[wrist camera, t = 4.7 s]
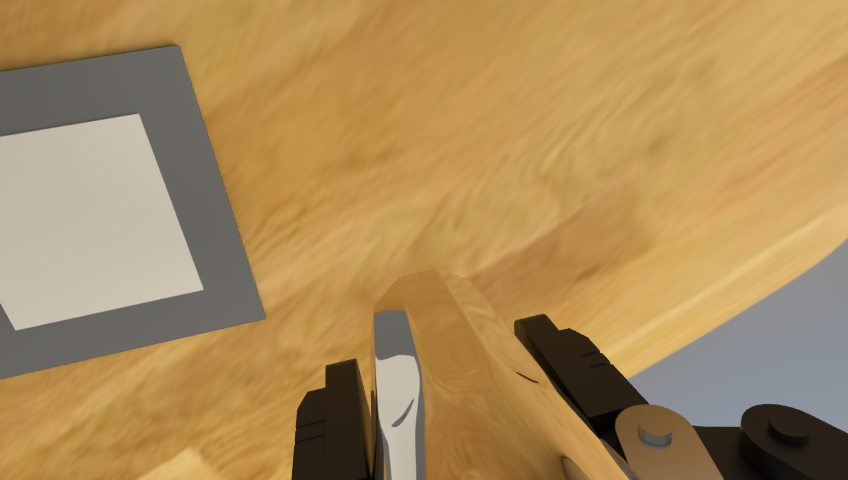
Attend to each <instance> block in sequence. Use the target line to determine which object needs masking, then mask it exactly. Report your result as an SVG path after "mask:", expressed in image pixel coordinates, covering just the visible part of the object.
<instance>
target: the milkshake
mask: <svg viewBox="0 0 848 480" xmlns="http://www.w3.org/2000/svg"><path fill="white" fill-rule="evenodd" d="M370 362H371V434H372V480H642V479H641V478H640V477H639V476H638V475H637V473H636V472H635V471H634V470H633V469H632V468H631V467H630V466H629V465H628V463H627V462H626V461H625V460H624V459H623V458H622V457H621V456H620V455H619V453H618V452H617V451H616V450H615V449H614V448H613V447H612V446H611V445H610V443H609V442H608V441H607V440H606V439H605V438H604V437H603V436H602V435H601V433H600V432H599V431H598V430H597V429H596V428H595V427H594V426H593V425H592V423H591V422H590V421H589V420H588V419H587V418H586V417H585V416H584V415H583V414H582V412H581V411H580V410H579V409H578V408H577V407H576V406H575V405H574V404H573V402H572V401H571V400H570V399H569V398H568V397H567V396H566V395H565V394H564V392H563V391H562V390H561V389H560V388H559V387H558V386H557V384H556V383H555V382H554V381H553V380H552V379H551V377H550V376H549V375H548V374H547V373H546V372H545V370H544V369H543V368H542V367H541V366H540V364H539V363H538V362H537V361H536V360H535V358H534V357H533V356H532V355H531V354H530V352H529V351H528V350H527V349H526V348H525V346H524V345H523V344H522V343H521V342H520V340H519V339H518V338H517V337H516V336H515V334H514V333H513V332H512V331H511V330H510V328H509V327H508V326H507V325H506V324H505V322H504V321H503V320H502V319H501V318H500V316H499V315H498V314H497V313H496V312H495V310H494V309H493V308H492V307H491V306H490V304H489V303H488V302H487V301H486V300H485V298H484V297H483V296H482V295H481V294H480V292H479V291H478V290H477V289H476V288H475V286H474V285H473V284H472V283H471V282H470V281H469V280H468V279H466V278H463V277H460V276H457V275H454V274H451V273H448V272H445V271H443V270H440V269H437V268H432V269H429V270H425V271H421V272H417V273H414V274H410V275H406V276H402V277H398V278H397V280H396V281H395V282H394V283H393V284H392V285H391V286H390V287H389V288H388V290H387V291H386V292H385V293H384V294H383V295H382V296H381V297H380V298H379V299H378V300H377V301H376V303H375V304H374V305H373V315H372V327H371V338H370Z"/></svg>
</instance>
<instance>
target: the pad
mask: <svg viewBox="0 0 848 480" xmlns="http://www.w3.org/2000/svg"><path fill="white" fill-rule="evenodd" d="M265 318H266V315H265V312H264V309H263V306H262V302H261V299H260V296H259V293H258V290H257V287H256V284H255V281H254V277H253V274H252V271H251V268H250V265H249V262H248V259H247V256H246V252H245V249H244V246H243V243H242V240H241V237H240V234H239V231H238V227H237V224H236V221H235V218H234V215H233V212H232V209H231V206H230V202H229V199H228V196H227V193H226V190H225V187H224V184H223V180H222V177H221V174H220V171H219V168H218V165H217V162H216V159H215V155H214V152H213V149H212V146H211V143H210V140H209V137H208V134H207V130H206V127H205V124H204V121H203V118H202V115H201V112H200V109H199V105H198V102H197V99H196V96H195V93H194V90H193V87H192V83H191V80H190V77H189V74H188V71H187V68H186V65H185V62H184V58H183V55H182V52H181V49H180V46H179V45H176V46H169V47H163V48H156V49H149V50H143V51H136V52H130V53H123V54H116V55H110V56H103V57H96V58H90V59H83V60H77V61H70V62H63V63H57V64H50V65H43V66H37V67H30V68H24V69H17V70H10V71H4V72H0V379H5V378H9V377H13V376H18V375H22V374H27V373H31V372H35V371H40V370H44V369H49V368H53V367H57V366H62V365H66V364H70V363H75V362H79V361H84V360H88V359H92V358H97V357H101V356H106V355H110V354H114V353H119V352H123V351H127V350H132V349H136V348H141V347H145V346H149V345H154V344H158V343H163V342H167V341H171V340H176V339H180V338H184V337H189V336H193V335H198V334H202V333H206V332H211V331H215V330H219V329H224V328H228V327H233V326H237V325H241V324H246V323H250V322H255V321H259V320H263V319H265Z"/></svg>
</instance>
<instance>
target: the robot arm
mask: <svg viewBox="0 0 848 480" xmlns="http://www.w3.org/2000/svg"><path fill="white" fill-rule="evenodd" d="M514 332H515V336H516V337H517V338H518V339H519V340H520V342H521V343H522V344H523V345H524V346H525V348H526V349H527V350H528V351H529V352H530V354H531V355H532V356H533V357H534V358H535V360H536V361H537V362H538V363H539V364H540V366H541V367H542V368H543V369H544V370H545V372H546V373H547V374H548V375H549V376H550V377H551V379H552V380H553V381H554V382H555V383H556V384H557V386H558V387H559V388H560V389H561V390H562V391H563V392H564V394H565V395H566V396H567V397H568V398H569V399H570V400H571V401H572V402H573V404H574V405H575V406H576V407H577V408H578V409H579V410H580V411H581V412H582V414H583V415H584V416H585V417H586V418H587V419H588V420H589V421H590V422H591V423H592V425H593V426H594V427H595V428H596V429H597V430H598V431H599V432H600V433H601V435H602V436H603V437H604V438H605V439H606V440H607V441H608V442H609V443H610V445H611V446H612V447H613V448H614V449H615V450H616V451H617V452H618V453H619V455H620V456H621V457H622V458H623V459H624V460H625V461H626V462H627V463H628V465H629V466H630V467H631V468H632V469H633V470H634V471H635V472H636V473H637V475H638V476H639V477H640V478H641V479H642V480H848V433H846V432H844V431H842V430H840V429H837V428H836V427H834V426H832V425H830V424H828V423H826V422H824V421H822V420H820V419H818V418H816V417H814V416H812V415H810V414H807V413H805V412H803V411H801V410H798V409H795V408H792V407H788V406H783V405H777V404H761V405H756V406H753V407H751V408H749V409H747V410H746V411H745V412H744V414H743V416H742V419H741V426H740V427H702V426H692V425H691V424H690V423H689V422H688V421H687V420H686V419H685V418H684V417H682V416H681V415H680V414H678V413H676V412H674V411H672V410H670V409H667V408H664V407H661V406H657V405H650V404H649V403H648V402H647V401H646V400H645V399H644V398H643V397H642V396H641V395H640V394H639V393H638V392H637V390H636V389H635V388H634V387H633V386H632V385H631V384H630V383H629V382H628V380H627V379H626V378H625V377H624V376H623V375H622V374H621V373H620V372H619V371H618V370H617V369H616V368H615V366H614V365H613V364H610V361H609V360H608V359H607V358H606V357H605V356H604V355H603V353H600V350H599V349H598V348H597V347H596V346H595V345H594V344H593V343H592V342H591V340H590V339H589V338H588V337H586V336H584V335H582V334H580V333H578V332H576V331H574V330H572V329H570V328H568V329H564V330H560V331H559V330H558V329H557V327H556V326H555V325H554V324H553V323H552V321H551V320H550V319H549V318H548V317H547V316H546V315H545V314H540V315H536V316H532V317H528V318H523V319H519V320H516V321H515V323H514ZM292 480H372V434H371V416H370V412H369V407H368V403H367V399H366V395H365V391H364V387H363V383H362V379H361V375H360V371H359V367H358V363H357V360H356V358H355V359H351V360H347V361H342V362H338V363H334V364H330V365H326V388H322V389H317V390H313V391H309V392H307V394H306V395H305V397H304V399H303V400H302V402H301V404H300V406H299V407H298V409H297V419H296V431H295V446H294V456H293V468H292Z"/></svg>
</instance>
